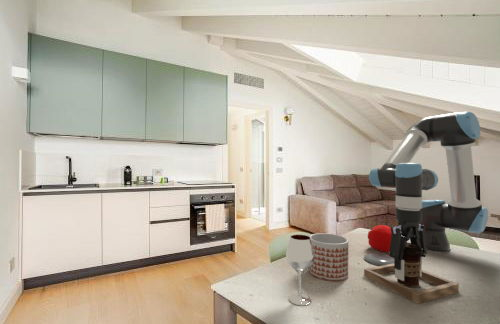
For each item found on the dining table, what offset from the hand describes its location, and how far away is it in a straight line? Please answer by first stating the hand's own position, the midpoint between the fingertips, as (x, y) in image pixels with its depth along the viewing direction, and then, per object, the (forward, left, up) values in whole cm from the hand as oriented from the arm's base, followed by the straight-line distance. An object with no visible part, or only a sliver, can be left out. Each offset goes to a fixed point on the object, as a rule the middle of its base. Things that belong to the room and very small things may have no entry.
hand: (408, 276), depth 82 cm
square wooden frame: (0, 0, -2) cm, 2 cm away
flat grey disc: (-9, -18, -2) cm, 20 cm away
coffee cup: (0, 0, -2) cm, 2 cm away
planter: (+20, -16, -2) cm, 26 cm away
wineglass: (+40, -4, -2) cm, 40 cm away
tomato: (-22, -28, -2) cm, 36 cm away
